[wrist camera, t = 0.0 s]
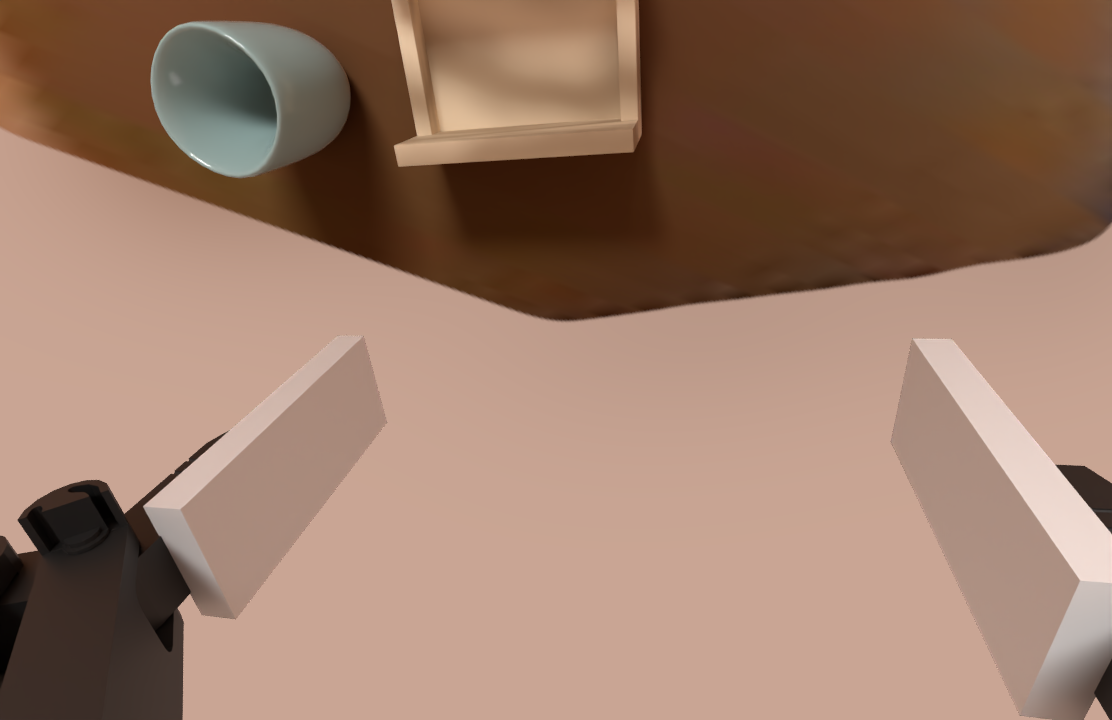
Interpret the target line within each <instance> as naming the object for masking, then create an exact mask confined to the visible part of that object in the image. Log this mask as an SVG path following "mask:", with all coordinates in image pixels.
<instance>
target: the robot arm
mask: <svg viewBox="0 0 1112 720" xmlns="http://www.w3.org/2000/svg"><path fill="white" fill-rule="evenodd" d="M386 423H387V421H386V417H385V414H384V409H383V406H382V402H381V398H380V395H379V391H378V387H377V384H376V380H375V376H374V372H373V369H372V365H371V361H370V358H369V354H368V350H367V347H366V343H365V339H364V336H337V337H336V338H335V339H333V340H332V341H331V342H330V343H329V344H328V345H327V346H325V347H324V348H323V349H322V350H321V351H320V352H319V353H317V354H316V355H315V356H314V357H313V358H312V359H311V360H310V361H308V362H307V363H306V364H305V365H304V366H303V367H301V368H300V369H299V370H298V371H297V372H296V373H295V374H294V375H292V376H291V377H290V378H289V379H288V380H287V381H286V382H285V383H283V384H282V385H281V386H280V387H279V388H278V389H276V390H275V391H274V392H273V393H272V394H271V395H270V396H268V397H267V398H266V399H265V400H264V401H263V402H262V403H260V404H259V405H258V406H257V407H256V408H255V409H254V410H252V411H251V412H250V413H249V414H248V415H247V416H246V417H244V419H242V420H241V421H240V422H239V423H238V424H237V425H235V426H234V427H233V428H232V429H231V430H229V431H228V432H226V433H224V434H222V435H220V436H219V437H217V438H215V439H213V440H211V441H210V442H208V443H206V444H205V445H204V446H203V447H202V448H200V449H199V450H198V451H197V452H196V453H195V454H193V455H192V456H191V457H190V458H189V461H188V462H187V461H186V462H184V463H183V464H182V465H181V466H180V467H179V468H177V469H176V470H175V473H174V474H170V475H169V476H168V477H167V478H166V479H165V480H163V481H162V482H161V483H160V484H159V485H158V486H156V487H155V488H154V489H153V490H152V491H151V492H149V493H148V494H147V495H146V496H145V497H144V498H142V499H141V500H140V501H139V502H138V503H137V504H136V505H134V506H133V507H132V508H131V509H130V510H129V511H127V512H126V513H125V514H124V513H123V511H122V509H121V508H120V506H119V504H118V502H117V501H116V499H115V497H114V495H113V493H112V492H111V490H110V488H109V486H108V485H107V483H105V482H102V481H100V480H86V481H81V482H78V483H73V484H69V485H67V486H65V487H62V488H59V489H57V490H54V491H52V492H50V493H49V494H47V495H45V496H43V497H42V498H40V499H38V500H37V501H35V502H34V503H33V504H32V505H30V506H29V507H28V508H27V509H26V510H24V512H23V513H22V514H21V516H20V517H19V519H18V522H19V523H20V524H21V525H22V527H23V529H24V530H25V532H26V533H27V535H28V536H29V538H30V539H31V541H32V542H33V543H34V545H35V546H36V548H37V549H38V551H34V552H27V553H21V554H17V553H16V552H15V550H14V549H13V548H12V546H11V545H10V543H9V542H8V540H7V539H6V538H5V537H3V536H0V720H182V715H183V714H182V713H183V626H184V625H183V624H184V622H183V619H182V616H181V614H180V612H179V610H178V606H179V605H180V604H181V603H182V602H183V601H184V600H185V599H186V597H187V596H188V595H189V594H191V596H192V598H193V600H194V602H195V603H196V605H197V607H198V609H199V611H200V612H201V614H202V615H205V616H214V617H222V618H230V619H236V618H237V617H238V615H239V614H240V613H241V612H242V611H243V609H244V608H245V607H246V605H247V604H248V603H249V601H250V600H251V599H252V598H253V596H254V595H255V594H256V592H257V591H258V590H259V588H260V587H261V586H262V585H263V583H264V582H265V581H266V579H267V578H268V576H269V575H270V574H271V573H272V571H273V570H274V569H275V567H276V566H277V565H278V564H279V562H280V561H281V560H282V558H283V557H284V556H285V555H286V553H287V552H288V551H289V549H290V548H291V547H292V545H293V544H294V543H295V542H296V540H297V539H298V538H299V536H300V535H301V534H302V532H303V531H304V530H305V528H306V527H307V526H308V525H309V523H310V522H311V521H312V519H313V518H314V517H315V516H316V514H317V513H318V512H319V510H320V509H321V508H322V506H323V505H324V504H325V503H326V501H327V500H328V499H329V497H330V496H331V495H332V493H333V492H334V491H335V490H336V488H337V487H338V485H339V484H340V483H341V482H342V480H343V479H344V478H345V476H346V475H347V474H348V473H349V471H350V470H351V469H352V467H353V466H354V465H355V463H356V462H357V461H358V460H359V458H360V457H361V456H362V454H363V453H364V452H365V450H366V449H367V448H368V447H369V445H370V444H371V443H372V441H373V440H374V439H375V437H376V436H377V435H378V434H379V432H380V431H381V430H382V428H383V427H384V426H385V424H386ZM891 443H892V446H893V448H894V449H895V452H896V454H897V456H898V458H899V460H900V463H901V465H902V467H903V469H904V471H905V473H906V475H907V477H908V479H909V482H910V484H911V486H912V488H913V490H914V492H915V494H916V496H917V499H918V501H919V503H920V505H921V507H922V509H923V511H924V513H925V516H926V518H927V520H928V522H929V524H930V526H931V528H932V530H933V532H934V535H935V537H936V539H937V541H938V543H939V545H940V547H941V549H942V552H943V554H944V556H945V558H946V560H947V562H948V564H949V566H950V568H951V571H952V573H953V575H954V577H955V579H956V581H957V583H958V586H959V588H960V590H961V592H962V594H963V596H964V598H965V600H966V603H967V605H968V607H969V609H970V611H971V613H972V615H973V617H974V620H975V622H976V624H977V626H978V628H979V630H980V632H981V634H982V636H983V639H984V641H985V643H986V645H987V647H988V649H989V651H990V653H991V656H992V658H993V660H994V662H995V664H996V666H997V668H998V670H999V672H1000V674H1001V676H1002V679H1003V681H1004V683H1005V685H1006V687H1007V690H1008V692H1009V694H1010V696H1011V698H1012V700H1013V702H1014V704H1015V706H1016V709H1017V711H1018V713H1019V715H1020V716H1027V717H1036V718H1044V719H1052V720H1084V718H1085V716H1086V714H1087V712H1088V710H1089V708H1090V706H1091V705H1092V703H1093V701H1094V699H1095V697H1097V699H1098V701H1099V702H1100V704H1101V706H1102V707H1103V709H1104V711H1105V712H1106V714H1107V716H1108V718H1109V719H1110V720H1112V483H1110V482H1109V481H1107V480H1105V479H1104V478H1102V477H1101V476H1099V475H1098V474H1096V473H1095V472H1093V471H1092V470H1090V469H1088V468H1087V467H1085V466H1071V465H1055V464H1054V463H1053V462H1052V461H1051V459H1050V458H1049V457H1048V456H1047V455H1046V453H1045V452H1044V451H1043V450H1042V449H1041V447H1040V446H1039V445H1038V444H1037V442H1036V441H1035V440H1034V439H1033V437H1032V436H1031V435H1030V434H1029V433H1028V431H1027V430H1026V429H1025V428H1024V426H1023V425H1022V424H1021V423H1020V422H1019V420H1018V419H1017V418H1016V417H1015V416H1014V414H1013V413H1012V412H1011V411H1010V409H1009V408H1008V407H1007V406H1006V405H1005V403H1004V402H1003V401H1002V400H1001V398H1000V397H999V396H998V395H997V393H996V392H995V391H994V390H993V389H992V387H991V386H990V385H989V384H988V382H987V381H986V380H985V379H984V378H983V376H982V375H981V374H980V373H979V372H978V370H977V369H976V368H975V367H974V365H973V364H972V363H971V362H970V361H969V359H968V358H967V357H966V356H965V355H964V353H963V352H962V351H961V350H960V348H959V347H958V346H957V345H956V343H955V342H954V341H953V340H952V339H912V343H911V347H910V352H909V357H908V362H907V366H906V371H905V377H904V381H903V386H902V391H901V395H900V401H899V405H898V410H897V415H896V420H895V424H894V429H893V434H892V439H891Z"/></svg>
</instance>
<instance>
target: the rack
mask: <svg viewBox="0 0 1112 720" xmlns="http://www.w3.org/2000/svg"><path fill="white" fill-rule="evenodd" d="M391 1H392V6H393V11H394V16H395V22H396V27H397V32H398V37H399V43H400V48H401V53H402V58H403V64H404V69H405V74H406V79H407V85H408V90H409V95H410V100H411V106H412V111H413V116H414V121H415V127H416V132H417V136H416V137H414V138H411V139H409V140H406V141H404V142H402V143H399V144H397V145H394V148H395V153H396V158H397V163H398V167H400V166H416V165H432V164H449V163H465V162H481V161H497V160H513V159H529V158H545V157H562V156H578V155H594V154H610V153H626V152H634V150H635V148H636V146H637V144H638V142H639V139H640V137H641V135H642V117H641V76H640V35H639V0H391Z"/></svg>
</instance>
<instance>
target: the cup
mask: <svg viewBox="0 0 1112 720" xmlns="http://www.w3.org/2000/svg"><path fill="white" fill-rule="evenodd" d="M151 90H152V97H153V101H154V105H155V109H156V112H157V114H158V117H159V119H160V121H161V124H162V125H163V127H164V128H165V130H166V132H167V133H168V135H169V136H170V137H171V139H172V140H173V141H174V142H175V143H176V144H177V146H178V147H179V148H180V149H181V150H182V151H184V152H185V153H186V154H187V155H188V156H189V157H190V158H192V159H193V160H195V161H196V162H198V163H199V164H201V165H202V166H204V167H206V168H208V169H210V170H212V171H214V172H216V173H219V174H222V175H225V176H228V177H236V178H247V177H254V176H259V175H262V174H266V173H269V172H272V171H274V170H277V169H280V168H283V167H286V166H288V165H291V164H294V163H296V162H299V161H301V160H303V159H305V158H307V157H309V156H312V155H314V154H316V153H317V152H319V151H321V150H322V149H324V148H325V147H327V146H328V145H329V144H330V143H331V142H332V141H333V140H334V139H335V138H336V137H337V136H338V135H339V133H340V132H341V130H342V129H343V127H344V125H345V123H346V121H347V118H348V115H349V111H350V104H351V91H350V84H349V81H348V77H347V75H346V73H345V71H344V69H343V67H342V65H341V63H340V62H339V61H338V59H337V58H336V56H335V55H334V54H333V53H332V52H331V51H330V50H329V49H328V48H327V47H325V46H324V45H323V44H321V43H320V42H319V41H317V40H316V39H314V38H313V37H311V36H309V35H307V34H305V33H303V32H300V31H298V30H295V29H292V28H289V27H285V26H281V25H277V24H271V23H261V22H249V21H194V22H189V23H184V24H180V25H178V26H176V27H174V28H173V29H171V30H170V31H168V32H167V34H166V35H165V36H164V37H163V38H162V40H161V41H160V43H159V45H158V47H157V50H156V52H155V54H154V59H153V63H152V68H151Z"/></svg>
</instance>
